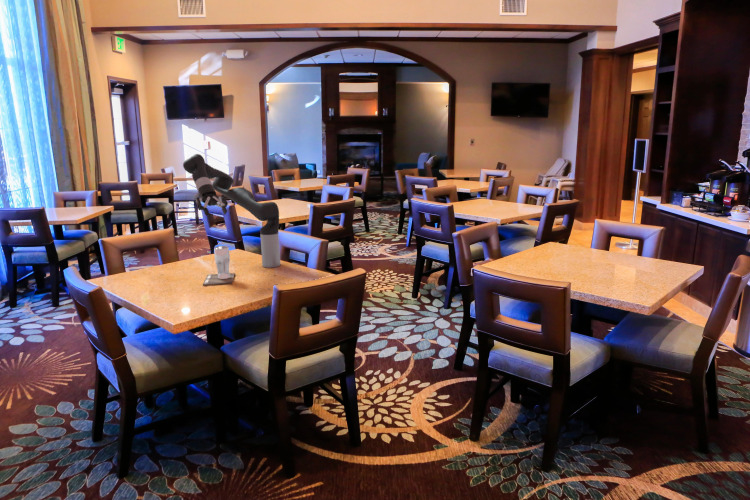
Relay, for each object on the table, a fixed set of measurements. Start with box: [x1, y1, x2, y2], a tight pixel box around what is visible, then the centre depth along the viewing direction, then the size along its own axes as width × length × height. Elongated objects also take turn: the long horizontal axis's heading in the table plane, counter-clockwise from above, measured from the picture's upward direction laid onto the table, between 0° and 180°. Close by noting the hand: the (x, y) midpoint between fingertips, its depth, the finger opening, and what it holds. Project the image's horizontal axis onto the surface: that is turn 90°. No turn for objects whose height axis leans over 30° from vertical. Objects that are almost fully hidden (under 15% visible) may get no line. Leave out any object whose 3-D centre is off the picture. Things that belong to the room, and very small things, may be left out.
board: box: [202, 272, 236, 287], centre depth 259 cm, size 17×13×1 cm
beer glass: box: [213, 245, 231, 280], centre depth 258 cm, size 7×7×15 cm
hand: (217, 214), depth 259 cm, fingers open, 8 cm apart
